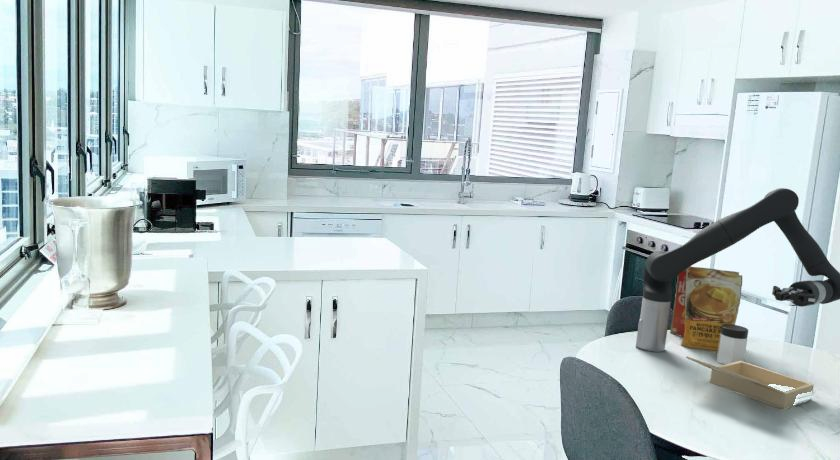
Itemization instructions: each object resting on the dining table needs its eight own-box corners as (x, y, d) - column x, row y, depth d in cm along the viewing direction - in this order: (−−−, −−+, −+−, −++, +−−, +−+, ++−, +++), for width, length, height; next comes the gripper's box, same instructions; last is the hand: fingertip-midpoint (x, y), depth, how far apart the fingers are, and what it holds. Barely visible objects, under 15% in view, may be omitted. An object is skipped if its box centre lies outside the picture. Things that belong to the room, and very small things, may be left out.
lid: (686, 356, 197) (685, 358, 197) (758, 381, 180) (758, 383, 180) (713, 367, 207) (712, 369, 207) (784, 392, 190) (783, 394, 190)
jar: (749, 365, 228) (754, 329, 226) (736, 369, 223) (742, 332, 221) (722, 356, 235) (727, 322, 233) (710, 360, 230) (715, 325, 228)
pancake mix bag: (674, 341, 249) (685, 264, 245) (731, 349, 245) (743, 271, 241) (677, 346, 243) (688, 268, 239) (735, 354, 239) (747, 274, 235)
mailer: (738, 374, 218) (740, 360, 217) (811, 399, 200) (813, 384, 199) (709, 382, 208) (712, 367, 207) (783, 409, 191) (786, 393, 190)
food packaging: (668, 333, 260) (677, 267, 256) (678, 329, 267) (687, 265, 263) (704, 342, 251) (714, 274, 247) (714, 338, 258) (723, 272, 254)
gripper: (787, 276, 216) (758, 278, 206) (832, 286, 206) (804, 289, 196) (783, 299, 218) (754, 303, 207) (827, 310, 207) (799, 315, 197)
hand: (778, 296), depth 202 cm, fingers closed
